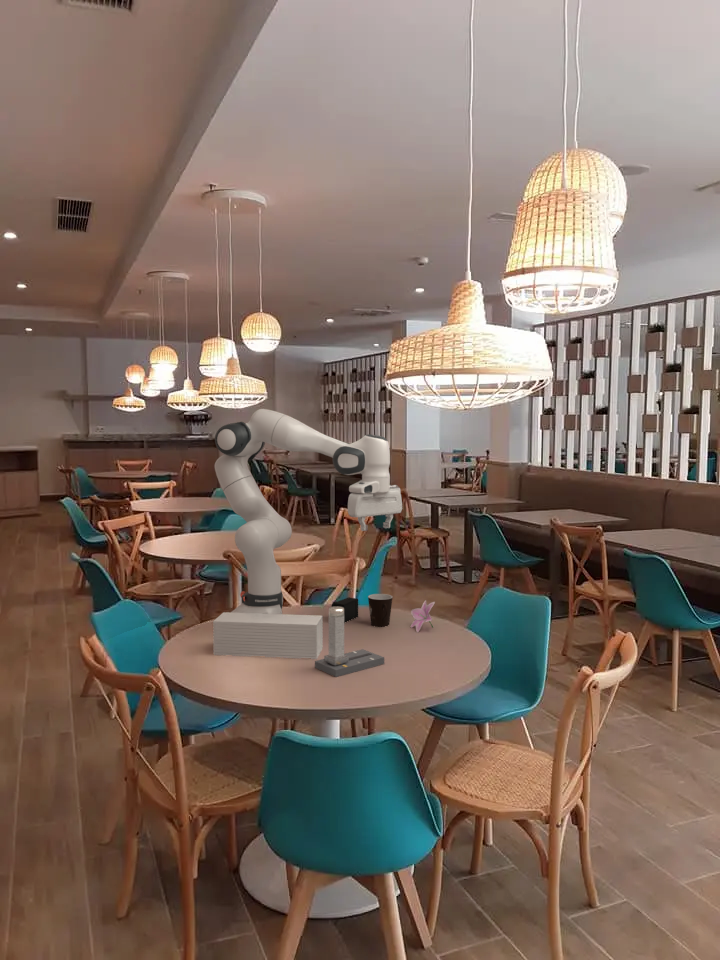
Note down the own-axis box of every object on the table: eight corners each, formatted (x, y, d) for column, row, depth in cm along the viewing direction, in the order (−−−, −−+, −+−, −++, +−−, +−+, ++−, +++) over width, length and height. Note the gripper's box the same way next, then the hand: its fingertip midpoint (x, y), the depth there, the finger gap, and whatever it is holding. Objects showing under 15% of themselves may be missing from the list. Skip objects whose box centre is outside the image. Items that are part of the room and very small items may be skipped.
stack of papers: (322, 649, 234) (322, 615, 233) (316, 659, 223) (316, 624, 222) (223, 645, 237) (223, 612, 236) (213, 655, 227) (213, 621, 226)
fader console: (335, 677, 207) (335, 669, 207) (314, 667, 215) (314, 660, 215) (384, 663, 219) (384, 656, 218) (362, 655, 226) (362, 648, 226)
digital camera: (345, 615, 274) (345, 596, 273) (358, 617, 271) (358, 598, 271) (330, 621, 265) (330, 602, 264) (343, 623, 262) (343, 604, 262)
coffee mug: (370, 620, 266) (370, 593, 265) (394, 622, 264) (394, 594, 263) (364, 629, 255) (364, 601, 254) (388, 631, 253) (389, 602, 252)
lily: (412, 625, 264) (402, 604, 260) (443, 613, 262) (433, 592, 259) (415, 645, 253) (404, 623, 249) (447, 633, 251) (437, 611, 248)
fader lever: (334, 665, 210) (334, 611, 209) (324, 661, 214) (324, 608, 213) (348, 662, 213) (348, 608, 212) (337, 657, 217) (338, 605, 216)
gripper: (393, 483, 244) (393, 525, 245) (344, 486, 231) (344, 531, 232) (406, 485, 239) (406, 527, 240) (357, 488, 226) (357, 533, 227)
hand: (375, 529), depth 236 cm, fingers open, 8 cm apart
